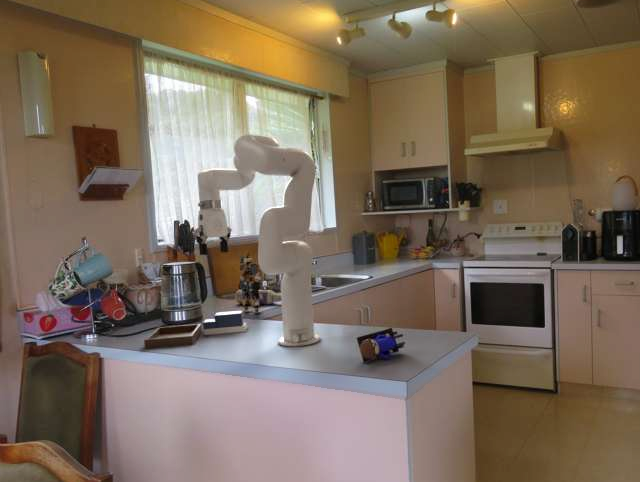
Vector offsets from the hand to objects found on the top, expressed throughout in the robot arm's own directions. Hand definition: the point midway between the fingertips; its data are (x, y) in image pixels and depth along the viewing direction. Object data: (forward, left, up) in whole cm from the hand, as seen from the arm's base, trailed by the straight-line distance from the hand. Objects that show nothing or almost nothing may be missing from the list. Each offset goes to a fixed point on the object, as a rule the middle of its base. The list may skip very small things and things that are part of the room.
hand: (214, 253), depth 194 cm
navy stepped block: (-6, -3, -27) cm, 28 cm away
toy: (+26, -10, -28) cm, 39 cm away
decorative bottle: (+48, -13, -28) cm, 57 cm away
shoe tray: (-12, +13, -27) cm, 33 cm away
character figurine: (-60, -49, -28) cm, 82 cm away
